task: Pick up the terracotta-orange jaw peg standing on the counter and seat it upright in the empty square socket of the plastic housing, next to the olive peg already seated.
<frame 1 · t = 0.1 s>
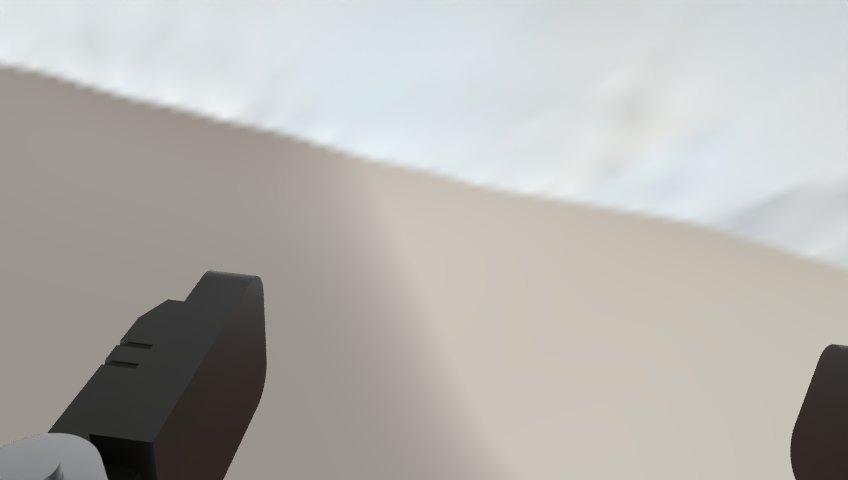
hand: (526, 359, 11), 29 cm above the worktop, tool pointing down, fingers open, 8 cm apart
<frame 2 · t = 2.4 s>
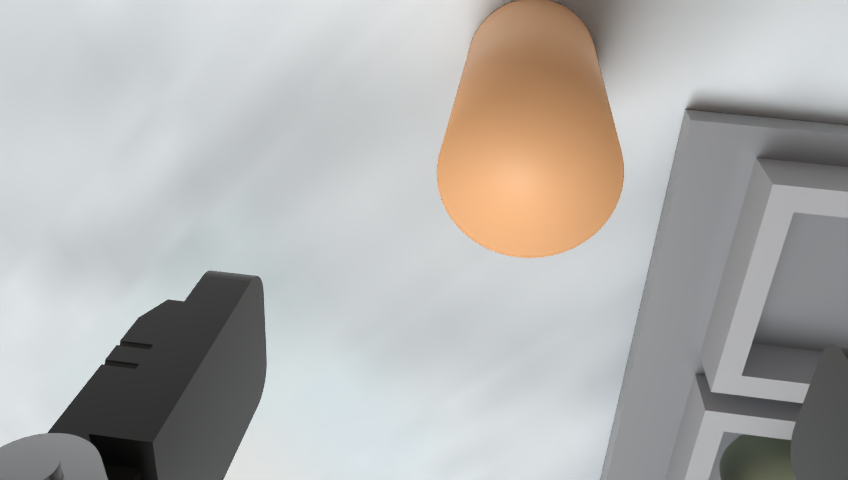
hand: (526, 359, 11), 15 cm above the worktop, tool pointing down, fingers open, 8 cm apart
jaw peg orange: (531, 63, 25), on the worktop
jaw peg olive: (774, 466, 30), point 1 cm above the worktop, touching housing
housing: (798, 361, 29), on the worktop
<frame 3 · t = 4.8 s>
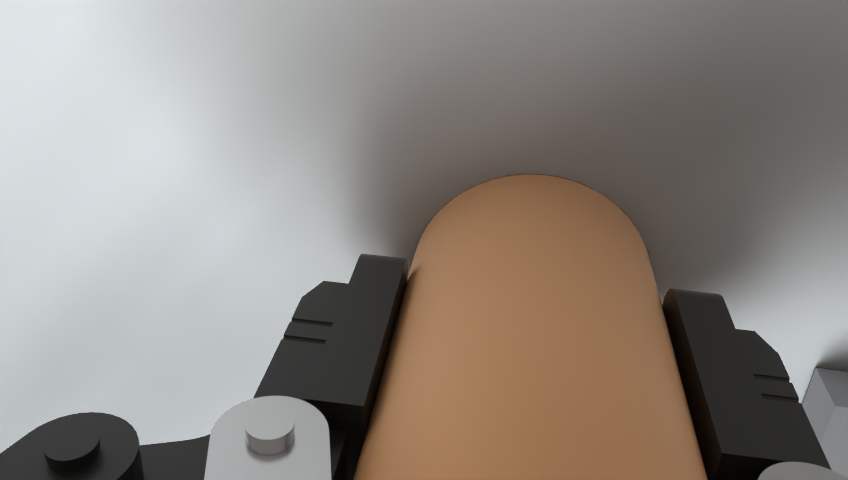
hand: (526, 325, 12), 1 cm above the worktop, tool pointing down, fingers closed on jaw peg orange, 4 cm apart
jaw peg orange: (529, 283, 13), on the worktop, touching gripper
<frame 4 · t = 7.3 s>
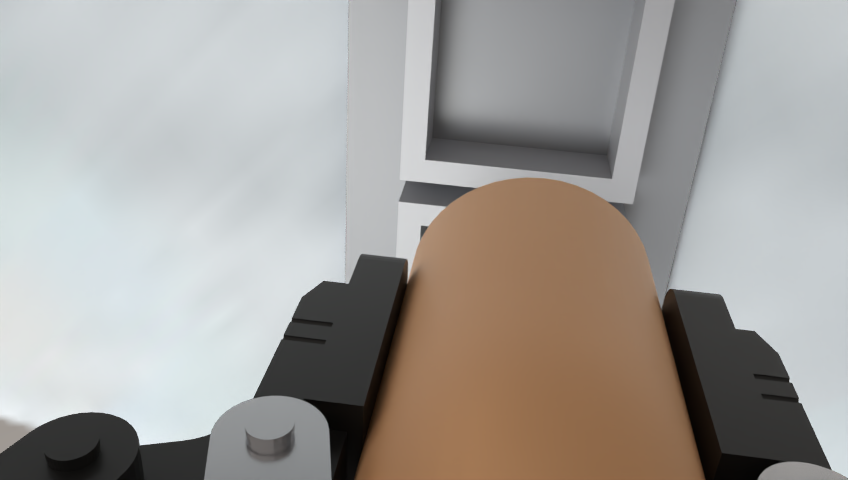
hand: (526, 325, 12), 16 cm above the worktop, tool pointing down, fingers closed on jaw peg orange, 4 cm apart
jaw peg orange: (528, 286, 13), point 15 cm above the worktop, touching gripper
housing: (515, 167, 29), on the worktop
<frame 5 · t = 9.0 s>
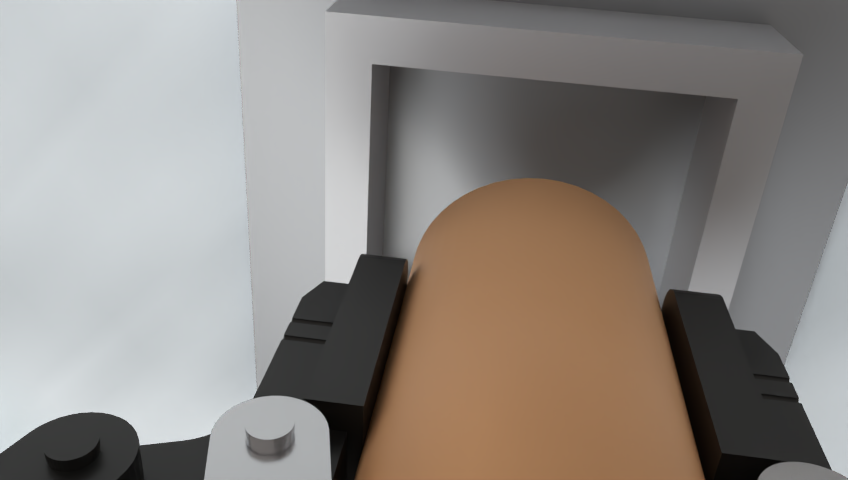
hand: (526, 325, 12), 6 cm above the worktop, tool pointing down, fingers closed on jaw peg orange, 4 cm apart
jaw peg orange: (528, 286, 13), point 4 cm above the worktop, touching gripper
housing: (508, 334, 19), on the worktop
when the fingers open (4 cm above the worktop, at t = 10.1 s): jaw peg orange drops 2 cm, resting on housing.
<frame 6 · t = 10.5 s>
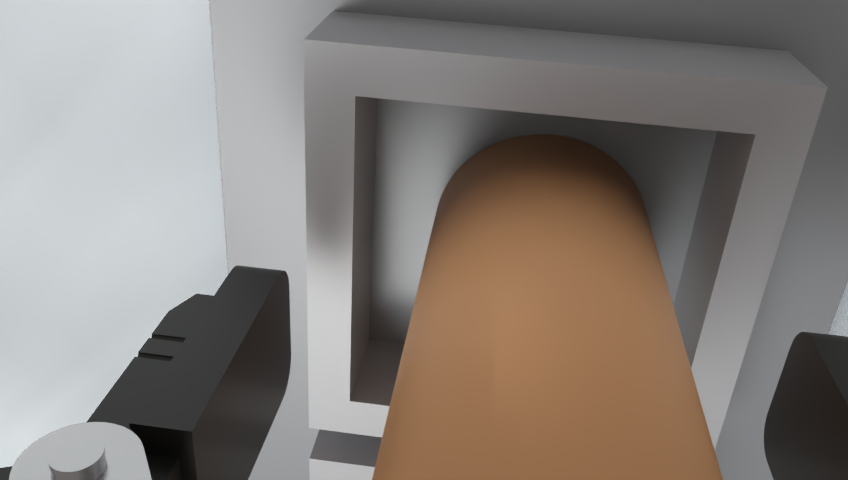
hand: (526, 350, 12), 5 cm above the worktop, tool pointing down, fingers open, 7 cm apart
jaw peg orange: (539, 233, 15), point 1 cm above the worktop, touching housing
housing: (505, 373, 18), on the worktop
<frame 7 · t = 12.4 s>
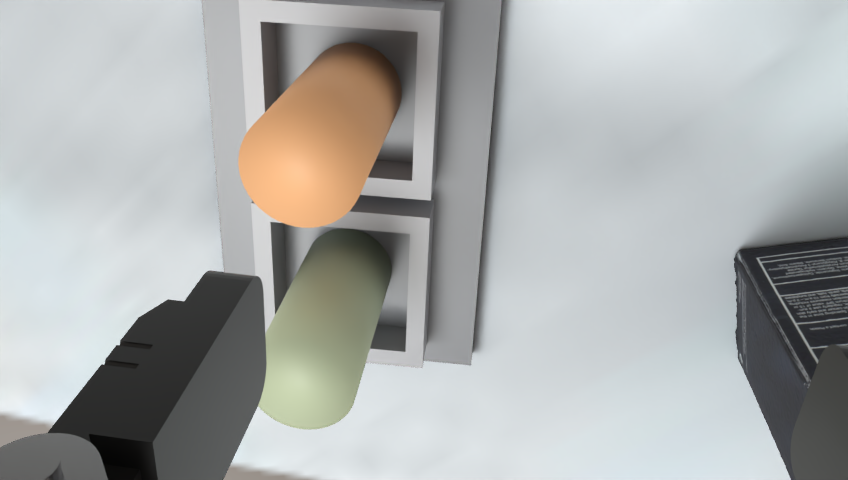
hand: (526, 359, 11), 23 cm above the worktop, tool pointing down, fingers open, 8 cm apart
jaw peg orange: (353, 91, 33), point 1 cm above the worktop, touching housing
jaw peg olive: (348, 267, 37), point 1 cm above the worktop, touching housing
housing: (353, 175, 36), on the worktop
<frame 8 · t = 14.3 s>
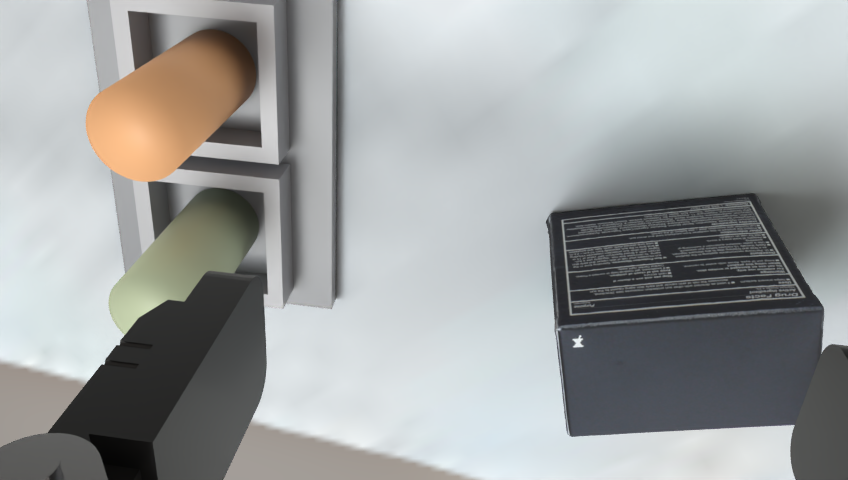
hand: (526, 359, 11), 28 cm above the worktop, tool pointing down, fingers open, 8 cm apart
jaw peg orange: (216, 70, 39), point 1 cm above the worktop, touching housing
jaw peg olive: (222, 221, 43), point 1 cm above the worktop, touching housing
housing: (224, 142, 42), on the worktop
small box: (651, 254, 42), on the worktop
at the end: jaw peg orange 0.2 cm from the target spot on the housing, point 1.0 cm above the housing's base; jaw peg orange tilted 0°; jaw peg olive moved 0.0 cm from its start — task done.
